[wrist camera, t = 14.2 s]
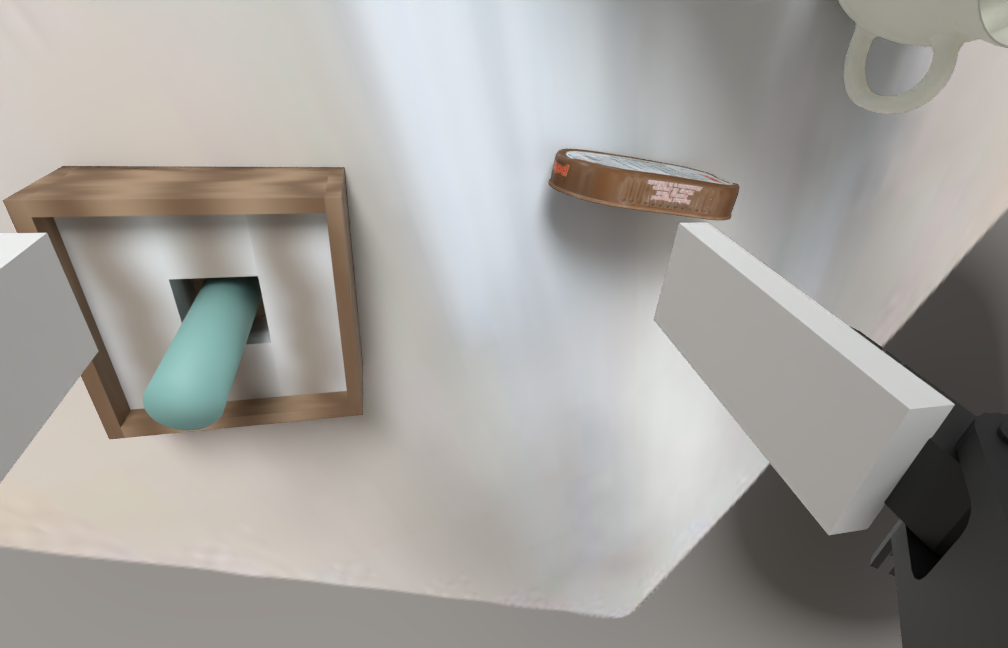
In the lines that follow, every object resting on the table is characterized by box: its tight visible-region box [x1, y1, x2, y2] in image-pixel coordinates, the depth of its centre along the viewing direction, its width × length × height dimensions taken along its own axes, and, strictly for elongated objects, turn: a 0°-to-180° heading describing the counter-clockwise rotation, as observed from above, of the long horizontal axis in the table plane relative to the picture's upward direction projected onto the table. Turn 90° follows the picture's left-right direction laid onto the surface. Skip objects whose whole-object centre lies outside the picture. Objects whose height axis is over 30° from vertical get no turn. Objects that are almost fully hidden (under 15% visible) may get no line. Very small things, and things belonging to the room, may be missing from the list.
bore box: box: [3, 166, 363, 439], centre depth 39 cm, size 18×18×7 cm
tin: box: [548, 149, 739, 220], centre depth 40 cm, size 15×3×8 cm, turn 79°
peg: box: [143, 276, 262, 431], centre depth 35 cm, size 4×4×14 cm
